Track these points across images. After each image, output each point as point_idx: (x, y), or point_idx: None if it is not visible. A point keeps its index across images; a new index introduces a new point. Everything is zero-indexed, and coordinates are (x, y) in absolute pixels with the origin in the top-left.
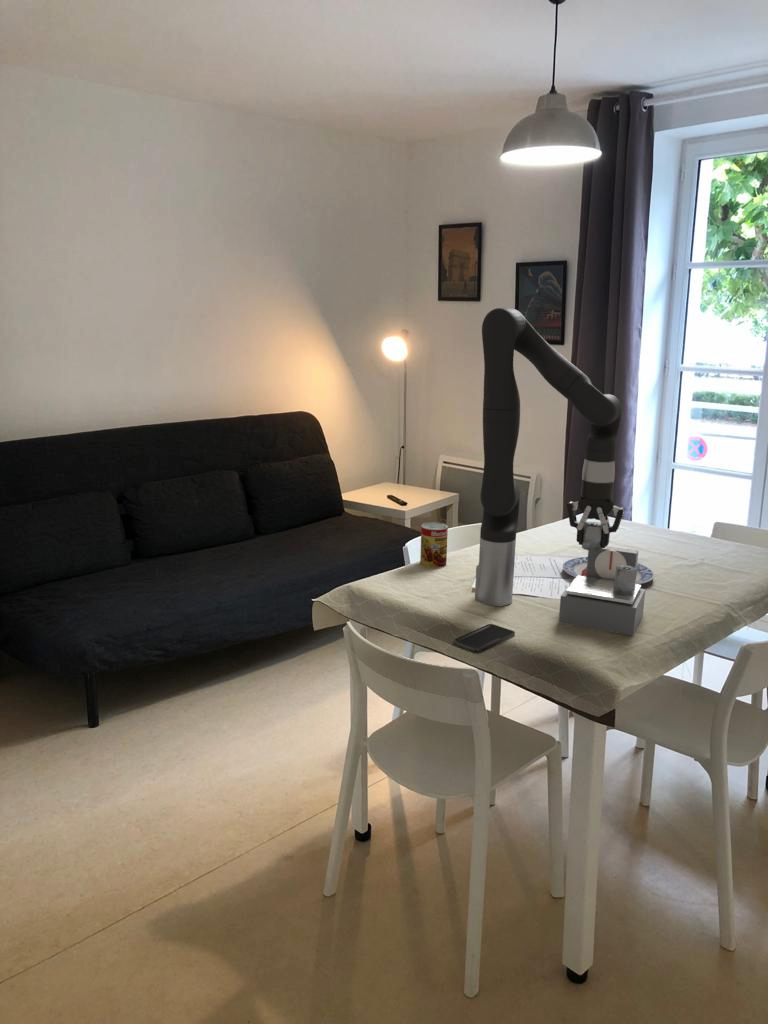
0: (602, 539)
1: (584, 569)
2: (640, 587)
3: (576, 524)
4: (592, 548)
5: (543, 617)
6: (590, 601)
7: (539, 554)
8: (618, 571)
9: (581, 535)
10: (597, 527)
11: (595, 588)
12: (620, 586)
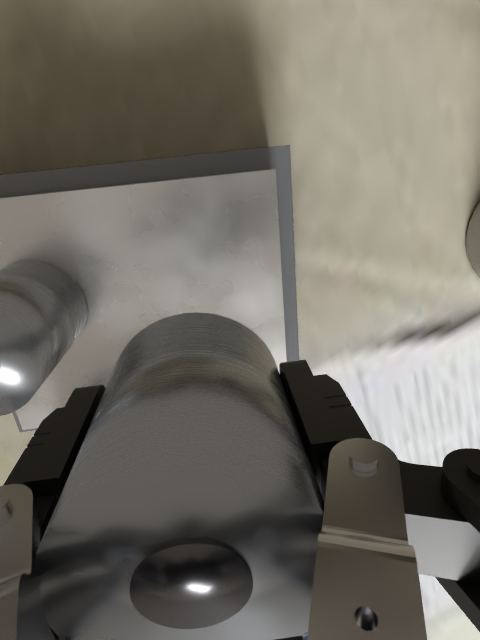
0: (76, 428)
1: None
2: (18, 411)
3: (427, 500)
4: (163, 324)
5: (331, 166)
6: (145, 160)
7: (456, 613)
8: (5, 307)
9: (305, 408)
10: (81, 493)
11: (164, 279)
12: (17, 272)
